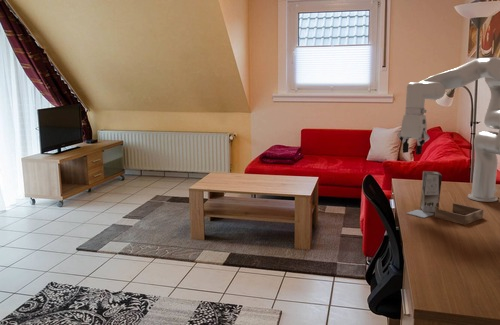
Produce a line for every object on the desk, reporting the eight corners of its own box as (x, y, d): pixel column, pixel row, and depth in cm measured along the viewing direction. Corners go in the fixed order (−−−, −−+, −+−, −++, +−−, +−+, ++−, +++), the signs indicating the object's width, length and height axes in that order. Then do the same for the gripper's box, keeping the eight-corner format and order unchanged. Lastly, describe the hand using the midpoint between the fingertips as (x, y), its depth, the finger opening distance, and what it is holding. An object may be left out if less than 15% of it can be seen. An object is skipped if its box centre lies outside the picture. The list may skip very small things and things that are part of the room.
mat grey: (417, 210, 208) (417, 209, 208) (434, 214, 202) (434, 213, 201) (406, 213, 203) (406, 212, 203) (423, 218, 197) (423, 217, 196)
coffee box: (438, 213, 203) (442, 175, 200) (422, 211, 204) (426, 174, 201) (435, 207, 212) (438, 171, 209) (419, 206, 213) (423, 170, 210)
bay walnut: (453, 211, 207) (453, 203, 206) (482, 218, 197) (483, 209, 197) (434, 217, 198) (435, 208, 197) (464, 224, 188) (465, 216, 188)
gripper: (437, 112, 203) (434, 155, 207) (402, 109, 217) (399, 150, 220) (427, 113, 199) (424, 157, 202) (392, 110, 212) (389, 151, 215)
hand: (411, 153), depth 211 cm, fingers open, 5 cm apart
